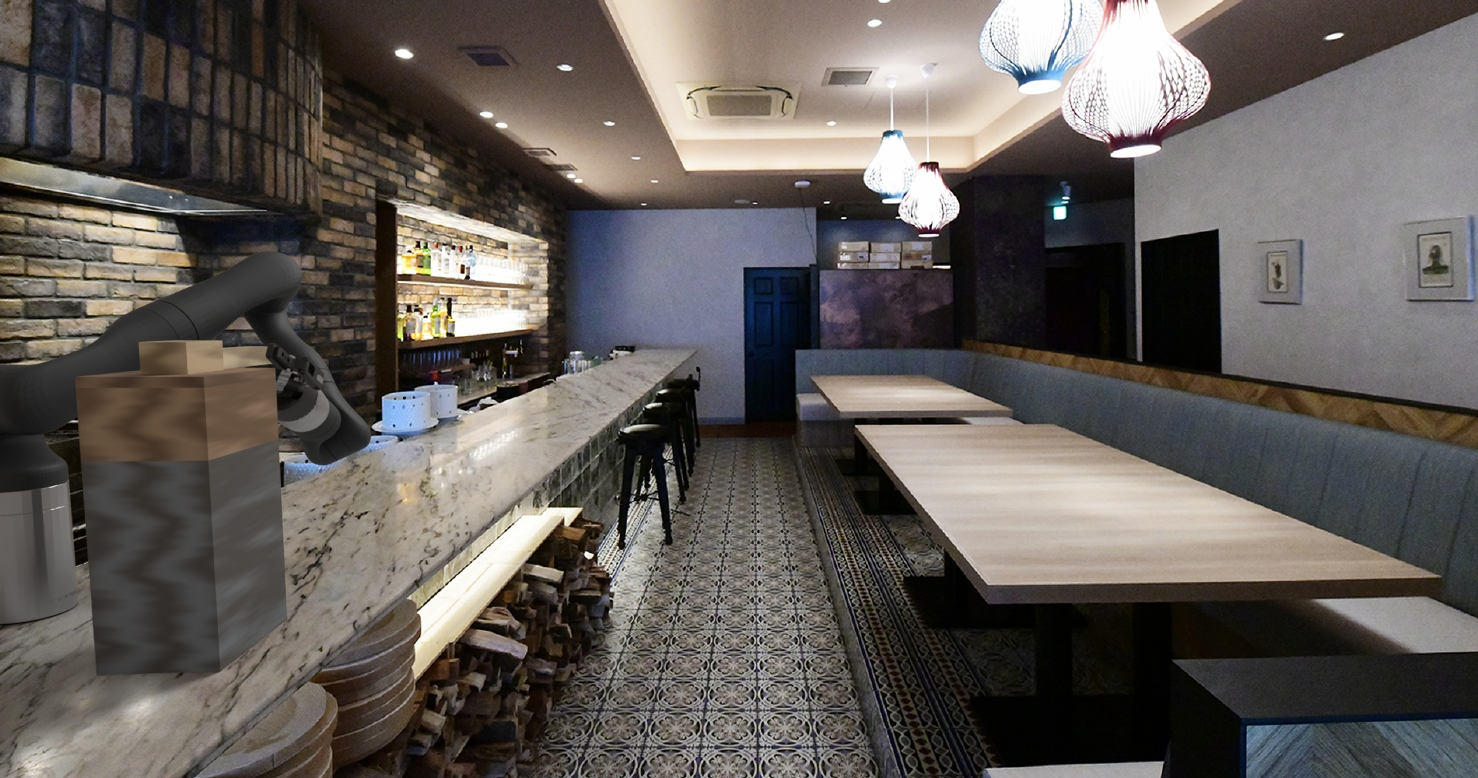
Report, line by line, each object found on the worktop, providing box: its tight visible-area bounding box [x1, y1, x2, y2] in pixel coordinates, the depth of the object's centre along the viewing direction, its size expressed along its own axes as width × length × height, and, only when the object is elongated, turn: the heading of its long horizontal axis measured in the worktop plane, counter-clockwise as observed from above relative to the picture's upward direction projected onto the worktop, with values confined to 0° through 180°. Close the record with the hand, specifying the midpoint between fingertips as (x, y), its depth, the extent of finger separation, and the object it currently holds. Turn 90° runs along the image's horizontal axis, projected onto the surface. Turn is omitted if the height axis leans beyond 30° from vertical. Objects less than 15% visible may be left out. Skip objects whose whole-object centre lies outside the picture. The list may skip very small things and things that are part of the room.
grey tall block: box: [75, 367, 288, 676], centre depth 91 cm, size 13×15×33 cm
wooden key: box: [139, 340, 272, 374], centre depth 95 cm, size 5×20×4 cm, turn 5°
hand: (237, 349), depth 100 cm, fingers open, 7 cm apart
